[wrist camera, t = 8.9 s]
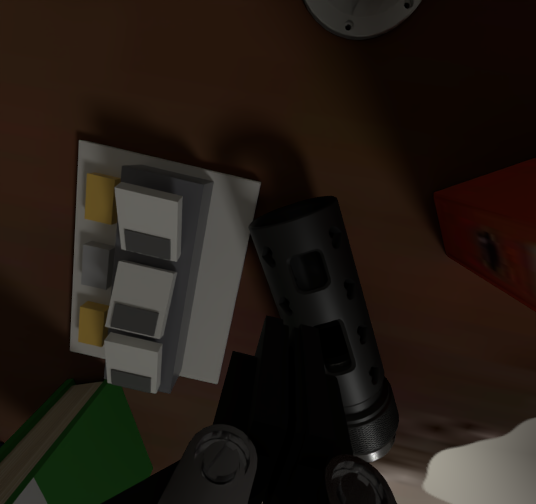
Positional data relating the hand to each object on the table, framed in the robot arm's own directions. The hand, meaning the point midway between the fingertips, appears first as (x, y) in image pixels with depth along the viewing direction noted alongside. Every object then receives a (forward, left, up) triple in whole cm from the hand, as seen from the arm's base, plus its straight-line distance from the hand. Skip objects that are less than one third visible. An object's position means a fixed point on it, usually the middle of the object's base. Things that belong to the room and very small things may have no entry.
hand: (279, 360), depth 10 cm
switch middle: (+11, -12, -20) cm, 26 cm away
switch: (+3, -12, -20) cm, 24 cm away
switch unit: (+11, -13, -27) cm, 32 cm away
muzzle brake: (+11, +8, -28) cm, 31 cm away
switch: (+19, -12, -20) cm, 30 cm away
